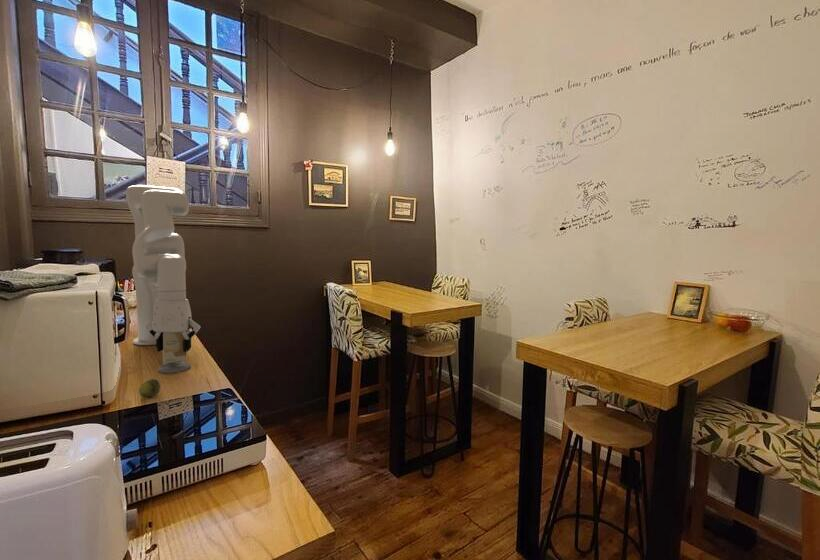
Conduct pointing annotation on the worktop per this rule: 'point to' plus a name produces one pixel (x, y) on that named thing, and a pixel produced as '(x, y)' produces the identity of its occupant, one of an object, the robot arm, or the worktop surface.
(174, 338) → the skincare box
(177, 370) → the coaster
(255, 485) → the worktop surface
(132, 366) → the worktop surface
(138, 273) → the robot arm
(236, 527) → the worktop surface
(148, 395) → the lime
